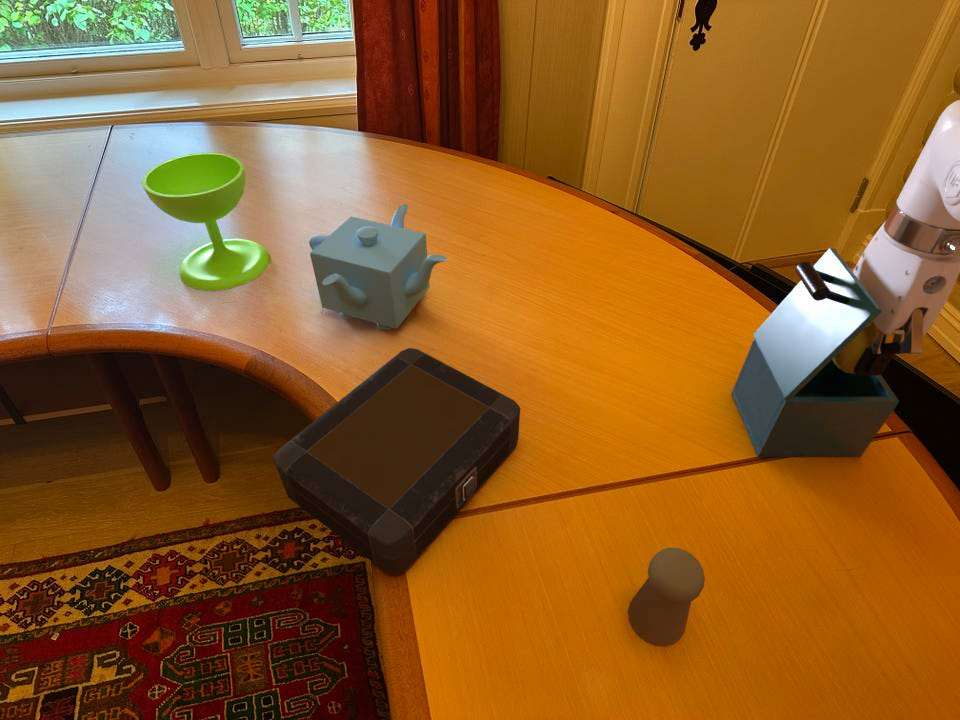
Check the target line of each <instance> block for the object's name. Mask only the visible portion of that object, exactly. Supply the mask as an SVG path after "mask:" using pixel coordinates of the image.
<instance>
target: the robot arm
mask: <svg viewBox="0 0 960 720" xmlns="http://www.w3.org/2000/svg"><path fill="white" fill-rule="evenodd" d="M850 270H851V271H852V272H853V273H854V275H855V276H856V277H857V279H858V280H859V281H860V282H861V284H862V285H863V286H864V288H865V289H866V290H867V291H868V293H869V294H870V295H871V296H872V298H873V299H874V300H875V302H876V303H877V304H878V305H879V307H880V308H881V309H882V312H881V313H880V314H879V315H878V316H877V317H876V318H875V319H874V320H873V321H872V322H873V323H874V324H875V326H876V327H877V330H876V334H875V337H874V341H873V344H872V347H868V348H866V349H865V351H864V353H863V354H862V356H861V358H860V359H859V361H858V363H857V365H856V366H855V368H854V371H853V372H854V373H855V375H881V376H882V374H884V373H883V372H884V371H885V370H886V368H887V367H888V365H889V364H890V362H891V360H892V359H893V357H894V356H895V355H904V354H921V353H923V351H924V336H925V335H926V334H927V333H928V332H929V331H930V330H931V328H932V327H933V326H934V324H935V322H936V321H937V319H938V317H939V315H940V314H941V312H942V311H943V309H944V307H945V305H946V302H947V301H948V299H949V297H950V295H951V293H952V291H953V289H954V287H955V285H956V283H957V280H958V279H959V278H958V277H959V275H960V99H958V100H955V101H954V102H952V103H950V104H949V105H947V107H946V108H945V109H944V110H943V111H942V113H941V114H940V116H939V117H938V119H937V121H936V123H935V125H934V127H933V129H932V131H931V133H930V135H929V137H928V139H927V141H926V143H925V145H924V146H923V149H922V150H921V152H920V154H919V156H918V158H917V160H916V162H915V163H914V166H913V168H912V170H911V171H910V174H909V176H908V177H907V179H906V181H905V183H904V186H903V188H902V190H901V191H900V193H899V195H898V197H897V199H896V201H895V202H894V204H893V206H892V208H891V210H890V213H889V215H888V216H887V219H886V220H885V221H884V222H883V223H882V224H881V226H880V227H879V229H878V230H877V231H876V232H875V234H874V236H872V238H871V240H870V241H869V242H868V244H867V246H866V247H865V249H864V251H863V252H862V254H861V255H860V258H859V259H858V262H857V263H856V265H855V266H854V267H850ZM890 335H893V338H892V342H888V343H885V341H886V337H887V338H888V336H890Z"/></svg>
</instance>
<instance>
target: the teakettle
mask: <svg viewBox="0 0 960 720" xmlns="http://www.w3.org/2000/svg"><path fill="white" fill-rule="evenodd" d="M408 209H409V205H408V204H407V203H402V204H400V205H399V206H398V207H397V208H396V209H395V211H394V213H393V216H392V219H391V222H390V224H387V223H382V222H377V221H373V220H370V219H366V218H365V219H364V218H360V217H355V216H350V217H348V219H346V220H345V221H344V222H343V223H342V224H341V225H339V226H338V227H337V228H336V229H335V230H334V231H332V233H330V234H323V233H320V234H319V233H317V234H314V235H312V236H311V237H310V238H309V239H308V244H309V245H308V246H309V247H310V248H311V250H312V251H310V252H309V256H310V260H311V265H312V269H313V273H314V277H315V283H316V287H317V290H318V295H319V299H320V300H319V301H320V304H321V308H322V309H325V310H329V311H332V312H335V313H339V315H340V317H341V318H342V319H346V320H349V319H350V320H351V319H354V318H357V319H361V320H364V321H368V322H371V323H375V324H377V327H378V328H379V329H380V330H391V329H398V328H399V327H400V325H401V324H402V323H403V322H404V320H405V319H406V318H407V317H408V316H409V314H410V313H411V311H412V310H413V309H414V308H415V307H416V306H417V304H418V303H419V302H420V300H421V299H422V298H423V297H424V296H425V294H426V293H427V292H428V290H429V289H430V287H431V286H430V279H431V276H432V271H433V268H434V267H435V265H437V264H440V263H443V262H447V261H448V257H446V256H444V255H441V254H430V255H428V245H427V235H426V233H424V232H422V231H421V232H420V231H417V230H414V229H413V230H412V229H408V228H405V217H406V214H407V211H408Z"/></svg>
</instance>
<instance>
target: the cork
mask: <svg viewBox="0 0 960 720" xmlns="http://www.w3.org/2000/svg"><path fill="white" fill-rule="evenodd" d="M647 576H648V577H647V578H646V580H645V581H644V582H643V584H642V585H641V587H640V588H639V589H638V591H637V592H636V593H635V594H634V596H633V597H632V599H631V600H630V601H629V603H628V608H627V616H628V622H629V624H630V626H631V628H632V630H633V631H634V632H635V634H636V635H637V636H638V637H639V638H640V639H641V640H643V641H644V642H646V643H647V644H650V645H653V646H655V647H668V646H673V645H675V644H676V643H678V641H680V640H681V639H682V638H683V636H684V634H685V632H686V628H687V623H688V618H689V617H688V616H689V613H690V608H691V605H692V602H693V601H694V600H696V599H697V598H698V597H699V596H700V595H701V593H702V591H703V590H704V587H705V581H706V577H705V572H704V568H703V566H702V565H701V562H700V561H699V560H698V559H697V558H696V557H695V556H694V555H693V554H692V553H691V552H689V551H688V550H686V549H682V548H679V547H667V548H663V549H661V550H659V551H657V552H655V554H654V555H653V557H652V558H651V559H650V561H649V564H648V568H647Z"/></svg>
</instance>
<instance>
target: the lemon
mask: <svg viewBox="0 0 960 720" xmlns="http://www.w3.org/2000/svg"><path fill="white" fill-rule="evenodd" d="M876 330H877V327H876V326H875V324H874V323H873V322H871V323H870V324H869V325H868V326H867V327H865V328H864V329H863V330H862V331H861V332H860V333H859V334H858V335H857V336H856V337H855V338H854V339H853V340H852V341H851V342H850V343H849V344H848V345H847V346H846V347H845V348H844V349H843V350H841V351H840V352H839V353H838V354H837V355H836V356H835V357H834V358H833V361H834V363H835V364H836V366H837V367H838V368H840V369H841V370H843V372H845V373H851V374H855V373H854V372H853V371H854V368H855V366H856V365H857V363H858V361H859V359H860V358H861V356H862V354H863V353H864V351H865V349H866V348H868V347H872V344H873V341H874V337H875V334H876ZM885 343H889V340H888V336H887V337H886V341H885Z"/></svg>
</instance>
